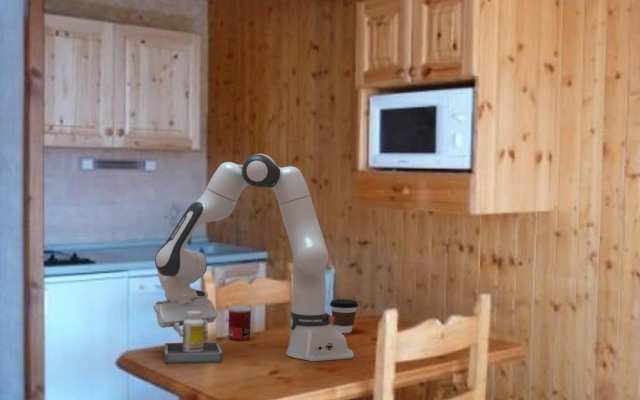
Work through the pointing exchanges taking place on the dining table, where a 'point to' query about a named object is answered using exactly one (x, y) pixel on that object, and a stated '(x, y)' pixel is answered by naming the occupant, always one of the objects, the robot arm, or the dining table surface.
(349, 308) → the coffee cup
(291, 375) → the dining table surface
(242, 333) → the canned food
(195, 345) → the supplement bottle
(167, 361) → the tray
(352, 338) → the dining table surface
